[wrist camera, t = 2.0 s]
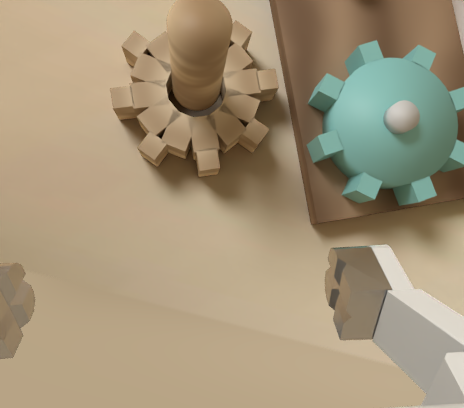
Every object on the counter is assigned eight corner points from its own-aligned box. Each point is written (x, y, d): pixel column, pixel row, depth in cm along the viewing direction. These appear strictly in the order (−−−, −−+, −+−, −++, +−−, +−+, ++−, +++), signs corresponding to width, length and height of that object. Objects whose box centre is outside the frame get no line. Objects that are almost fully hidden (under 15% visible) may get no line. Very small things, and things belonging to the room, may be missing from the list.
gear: (337, 228, 28) (358, 226, 25) (282, 81, 29) (295, 59, 26) (474, 178, 30) (511, 169, 26) (419, 38, 31) (448, 12, 27)
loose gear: (129, 187, 29) (96, 155, 18) (106, 36, 29) (62, -77, 19) (282, 164, 30) (333, 122, 20) (256, 20, 31) (291, -92, 20)
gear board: (311, 224, 30) (327, 222, 26) (255, -74, 32) (263, -113, 28) (480, 195, 32) (516, 189, 28) (418, -86, 33) (444, -124, 30)
